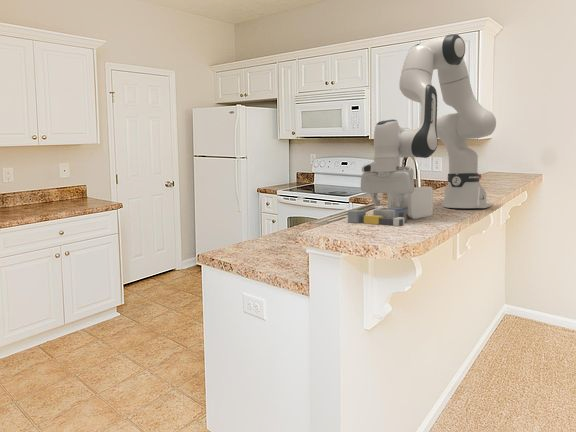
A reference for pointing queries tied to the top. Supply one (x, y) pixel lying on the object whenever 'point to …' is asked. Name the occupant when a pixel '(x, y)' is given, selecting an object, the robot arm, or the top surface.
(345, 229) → the top surface
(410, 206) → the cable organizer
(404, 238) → the top surface
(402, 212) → the medicine box
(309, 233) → the top surface
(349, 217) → the grey block
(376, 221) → the yellow and black bar
